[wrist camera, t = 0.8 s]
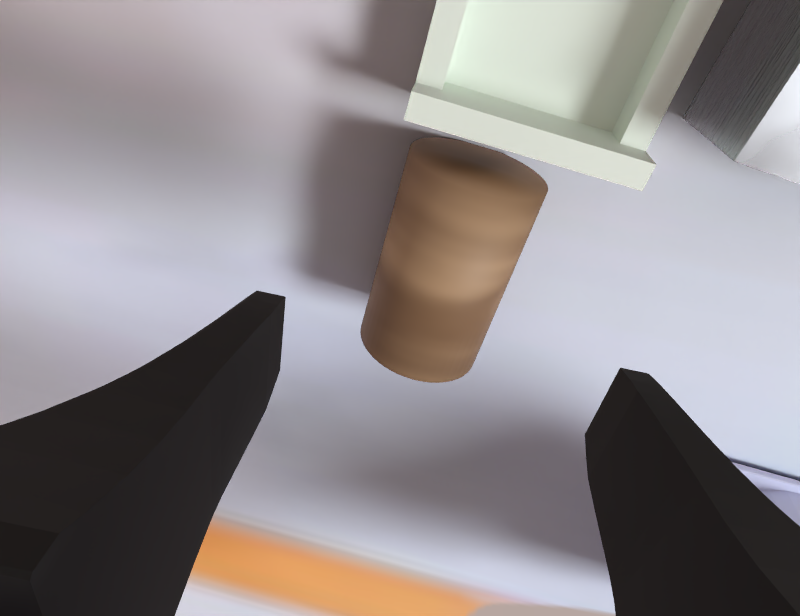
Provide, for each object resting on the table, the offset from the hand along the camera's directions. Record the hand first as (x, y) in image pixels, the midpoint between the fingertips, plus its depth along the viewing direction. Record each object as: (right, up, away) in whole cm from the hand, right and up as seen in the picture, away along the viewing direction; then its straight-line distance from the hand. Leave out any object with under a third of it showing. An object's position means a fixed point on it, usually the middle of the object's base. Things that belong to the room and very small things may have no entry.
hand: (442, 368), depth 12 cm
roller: (+1, +4, +9) cm, 10 cm away
